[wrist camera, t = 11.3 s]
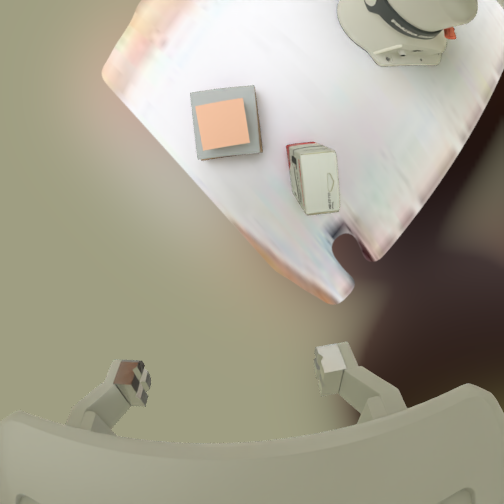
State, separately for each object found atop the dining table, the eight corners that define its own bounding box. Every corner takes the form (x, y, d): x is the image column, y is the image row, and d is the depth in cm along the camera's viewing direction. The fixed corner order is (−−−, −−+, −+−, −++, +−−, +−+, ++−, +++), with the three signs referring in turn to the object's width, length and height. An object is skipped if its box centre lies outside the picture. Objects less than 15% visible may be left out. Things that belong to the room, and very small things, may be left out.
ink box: (284, 144, 42) (299, 153, 32) (313, 141, 42) (337, 149, 32) (291, 193, 46) (306, 217, 36) (319, 189, 46) (341, 212, 36)
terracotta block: (242, 101, 30) (242, 97, 25) (248, 138, 33) (249, 142, 28) (202, 108, 31) (195, 106, 25) (209, 145, 33) (203, 150, 28)
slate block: (252, 89, 34) (254, 85, 30) (257, 149, 38) (260, 152, 34) (196, 96, 34) (190, 92, 30) (202, 154, 38) (197, 159, 34)
